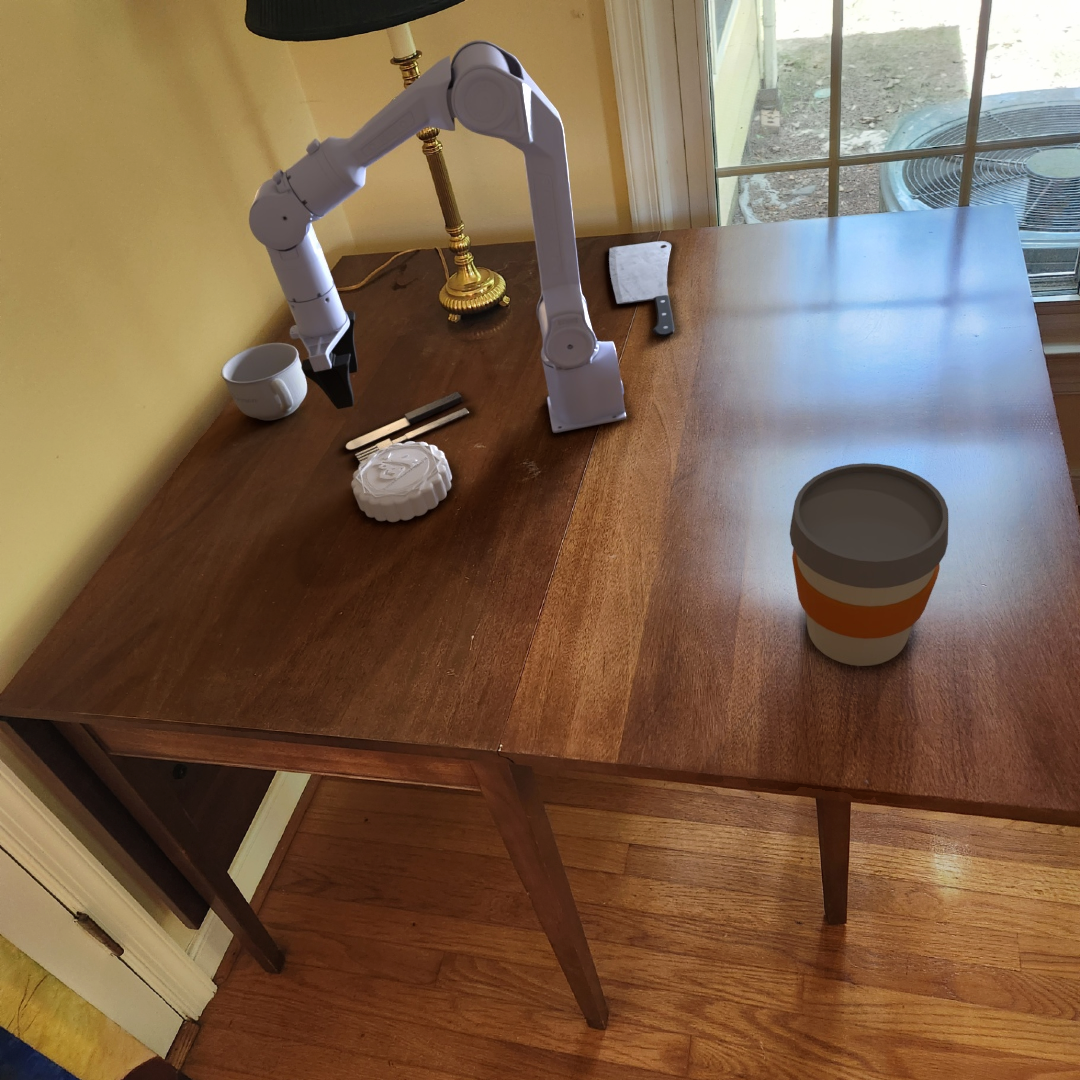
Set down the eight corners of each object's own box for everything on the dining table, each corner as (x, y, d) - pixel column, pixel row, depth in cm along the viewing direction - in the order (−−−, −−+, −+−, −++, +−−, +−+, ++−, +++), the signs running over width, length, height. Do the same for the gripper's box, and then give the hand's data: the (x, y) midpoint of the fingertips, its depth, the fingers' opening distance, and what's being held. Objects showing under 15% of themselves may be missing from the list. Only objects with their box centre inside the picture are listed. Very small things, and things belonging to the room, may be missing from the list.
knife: (458, 396, 124) (456, 390, 123) (463, 402, 123) (462, 397, 122) (344, 445, 120) (342, 440, 120) (349, 452, 119) (346, 447, 118)
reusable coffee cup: (843, 703, 78) (854, 587, 68) (761, 612, 87) (760, 497, 77) (960, 644, 81) (988, 523, 70) (869, 561, 89) (882, 443, 79)
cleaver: (608, 344, 127) (679, 335, 125) (608, 341, 126) (679, 332, 125) (609, 249, 148) (670, 241, 146) (609, 246, 147) (670, 238, 146)
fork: (464, 408, 122) (463, 405, 121) (471, 416, 120) (470, 414, 120) (355, 455, 118) (354, 453, 118) (361, 464, 116) (360, 462, 116)
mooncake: (411, 448, 117) (404, 426, 115) (472, 480, 110) (465, 457, 108) (339, 499, 112) (330, 477, 109) (398, 537, 105) (389, 514, 102)
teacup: (238, 403, 133) (215, 357, 128) (307, 377, 135) (288, 330, 130) (253, 451, 123) (229, 403, 118) (328, 422, 125) (308, 374, 120)
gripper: (283, 268, 107) (321, 364, 117) (267, 328, 97) (310, 429, 106) (340, 256, 107) (374, 353, 116) (330, 315, 96) (368, 417, 106)
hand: (347, 388), depth 111 cm, fingers open, 7 cm apart
